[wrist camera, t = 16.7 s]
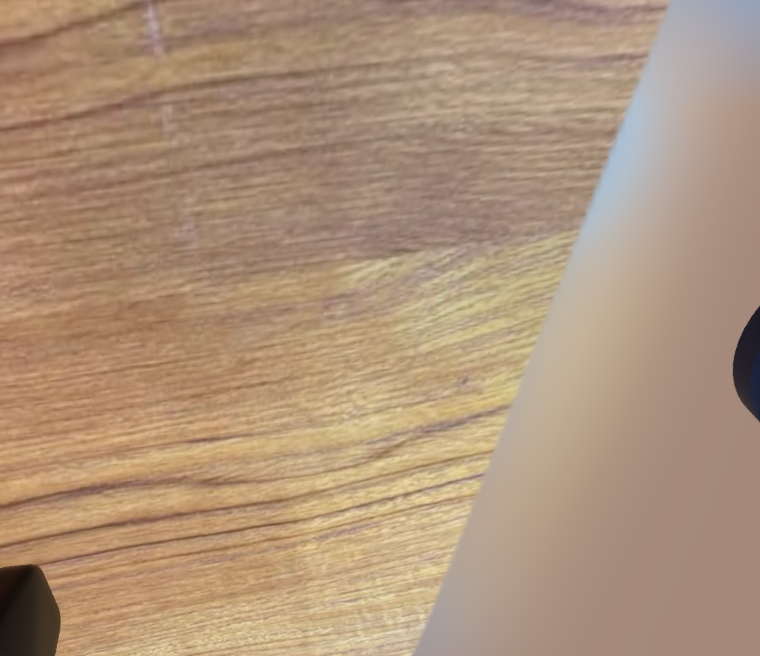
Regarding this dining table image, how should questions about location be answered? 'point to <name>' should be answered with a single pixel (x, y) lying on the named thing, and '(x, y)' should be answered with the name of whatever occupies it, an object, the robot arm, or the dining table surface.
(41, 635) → the robot arm
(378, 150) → the dining table surface
